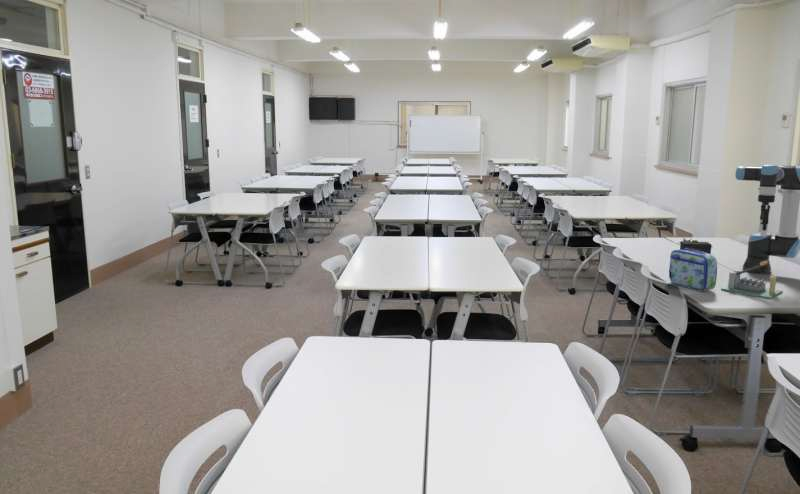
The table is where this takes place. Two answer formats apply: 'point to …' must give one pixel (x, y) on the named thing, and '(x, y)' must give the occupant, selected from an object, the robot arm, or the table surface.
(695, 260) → the lunch box
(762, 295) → the board
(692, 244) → the router
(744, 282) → the heatsink
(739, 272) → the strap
